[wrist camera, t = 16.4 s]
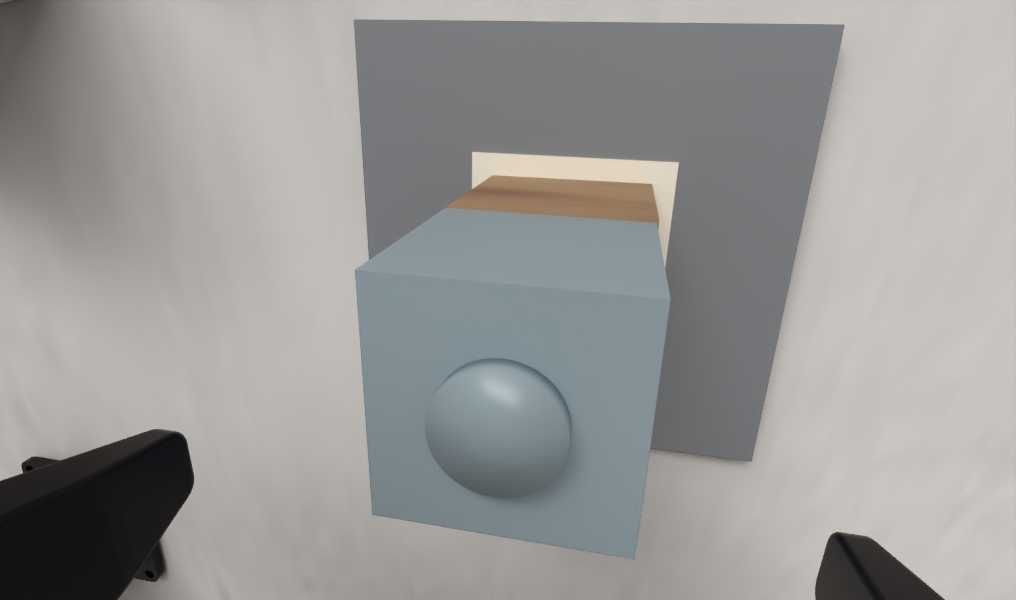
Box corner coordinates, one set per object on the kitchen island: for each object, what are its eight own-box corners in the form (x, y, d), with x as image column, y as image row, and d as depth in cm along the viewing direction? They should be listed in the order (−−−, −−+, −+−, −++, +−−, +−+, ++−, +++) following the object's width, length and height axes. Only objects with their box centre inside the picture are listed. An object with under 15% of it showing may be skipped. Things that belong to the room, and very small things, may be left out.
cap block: (633, 412, 15) (634, 581, 10) (447, 388, 16) (361, 533, 11) (656, 222, 13) (672, 311, 8) (445, 207, 14) (340, 279, 9)
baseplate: (747, 448, 21) (752, 463, 20) (386, 401, 24) (377, 412, 23) (834, 27, 16) (845, 24, 15) (365, 22, 19) (352, 19, 18)
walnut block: (635, 332, 19) (636, 410, 15) (490, 318, 20) (450, 387, 16) (652, 183, 18) (659, 219, 13) (492, 175, 19) (447, 206, 14)
